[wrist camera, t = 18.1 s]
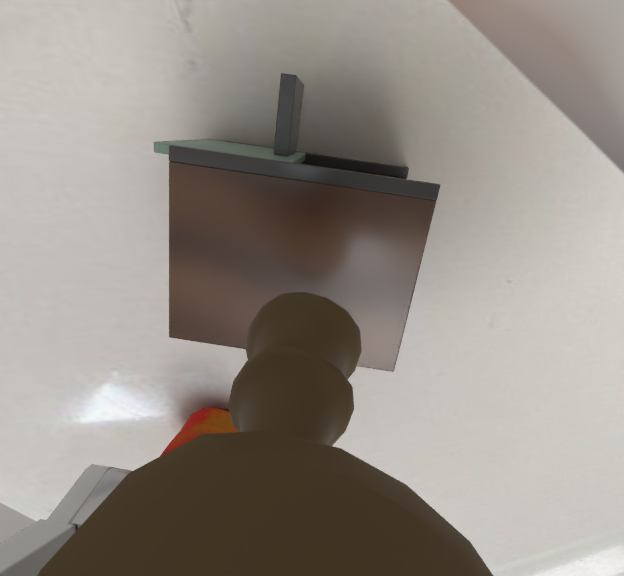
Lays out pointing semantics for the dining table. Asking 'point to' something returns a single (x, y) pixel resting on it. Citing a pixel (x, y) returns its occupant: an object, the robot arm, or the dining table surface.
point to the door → (283, 138)
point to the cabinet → (293, 243)
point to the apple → (202, 426)
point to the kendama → (272, 479)
